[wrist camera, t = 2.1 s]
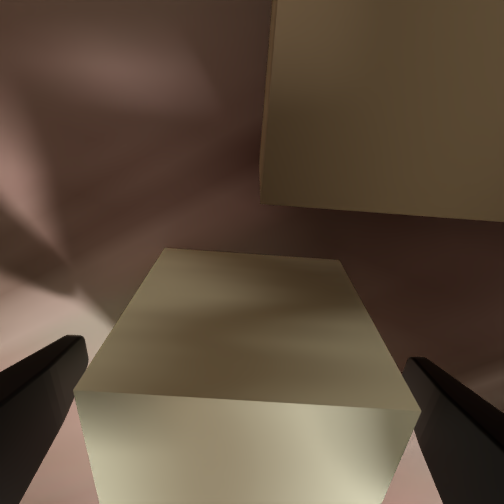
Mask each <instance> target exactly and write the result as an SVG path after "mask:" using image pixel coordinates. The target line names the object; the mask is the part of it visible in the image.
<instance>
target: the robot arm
mask: <svg viewBox="0 0 504 504" xmlns="http://www.w3.org/2000/svg"><path fill="white" fill-rule="evenodd" d="M87 366H88V353H87V348H86V343H85V339H84V337H83V336H81V335H66V336H64V337H62V338H60V339H58V340H57V341H55V342H53V343H51V344H49V345H48V346H46V347H44V348H42V349H41V350H39V351H37V352H35V353H33V354H32V355H30V356H28V357H26V358H24V359H23V360H21V361H19V362H17V363H16V364H14V365H12V366H10V367H8V368H7V369H5V370H3V371H1V372H0V504H19V503H20V501H21V499H22V498H23V496H24V494H25V492H26V490H27V488H28V487H29V485H30V483H31V481H32V479H33V477H34V476H35V474H36V472H37V470H38V468H39V466H40V465H41V463H42V461H43V459H44V457H45V456H46V454H47V452H48V450H49V448H50V446H51V445H52V443H53V441H54V439H55V437H56V435H57V434H58V432H59V430H60V428H61V426H62V424H63V422H64V420H65V418H66V416H67V413H68V411H69V409H70V406H71V404H72V402H73V399H74V392H73V389H74V388H75V386H76V385H77V383H78V382H79V380H80V379H81V377H82V375H83V374H84V372H85V371H86V369H87ZM402 376H403V378H404V380H405V382H406V384H407V385H408V387H409V389H410V391H411V393H412V395H413V396H414V398H415V400H416V402H417V404H418V406H419V407H420V409H421V414H420V416H419V418H418V420H417V423H416V425H415V427H414V431H415V434H416V437H417V440H418V443H419V446H420V448H421V451H422V453H423V456H424V458H425V461H426V463H427V466H428V468H429V471H430V473H431V475H432V478H433V480H434V483H435V485H436V488H437V490H438V492H439V495H440V497H441V500H442V502H443V504H504V413H502V412H501V411H500V410H498V409H497V408H495V407H494V406H493V405H491V404H490V403H488V402H487V401H486V400H484V399H483V398H481V397H480V396H479V395H477V394H476V393H474V392H473V391H472V390H470V389H469V388H467V387H466V386H465V385H463V384H462V383H460V382H459V381H458V380H456V379H455V378H453V377H452V376H451V375H449V374H448V373H446V372H445V371H444V370H442V369H441V368H439V367H438V366H437V365H435V364H434V363H432V362H431V361H430V360H428V359H427V358H424V357H409V358H408V360H407V362H406V365H405V368H404V371H403V373H402Z"/></svg>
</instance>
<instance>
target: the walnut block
mask: <svg viewBox="0 0 504 504" xmlns="http://www.w3.org/2000/svg"><path fill="white" fill-rule="evenodd" d="M259 179H260V204H267V205H280V206H294V207H307V208H321V209H334V210H348V211H361V212H375V213H388V214H402V215H415V216H429V217H442V218H456V219H469V220H483V221H496V222H504V0H272V6H271V19H270V31H269V44H268V56H267V69H266V82H265V94H264V107H263V119H262V132H261V145H260V157H259Z"/></svg>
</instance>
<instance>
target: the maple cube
mask: <svg viewBox="0 0 504 504" xmlns="http://www.w3.org/2000/svg"><path fill="white" fill-rule="evenodd" d="M73 392H74V397H75V401H76V405H77V409H78V414H79V418H80V422H81V427H82V431H83V435H84V439H85V444H86V448H87V452H88V456H89V461H90V465H91V469H92V474H93V478H94V482H95V486H96V491H97V495H98V499H99V504H381V503H382V501H383V499H384V496H385V494H386V492H387V489H388V487H389V485H390V483H391V480H392V478H393V476H394V473H395V471H396V469H397V466H398V464H399V462H400V460H401V457H402V455H403V453H404V450H405V448H406V446H407V443H408V441H409V439H410V437H411V434H412V432H413V430H414V427H415V425H416V423H417V420H418V418H419V416H420V414H421V409H420V407H419V406H418V404H417V402H416V400H415V398H414V396H413V395H412V393H411V391H410V389H409V387H408V385H407V384H406V382H405V380H404V378H403V376H402V374H401V373H400V371H399V369H398V367H397V365H396V363H395V362H394V360H393V358H392V356H391V354H390V352H389V351H388V349H387V347H386V345H385V343H384V341H383V340H382V338H381V336H380V334H379V332H378V330H377V328H376V327H375V325H374V323H373V321H372V319H371V317H370V316H369V314H368V312H367V310H366V308H365V306H364V305H363V303H362V301H361V299H360V297H359V295H358V294H357V292H356V290H355V288H354V286H353V284H352V283H351V281H350V279H349V277H348V275H347V273H346V272H345V270H344V268H343V266H342V264H341V262H340V261H339V260H332V259H317V258H303V257H289V256H275V255H261V254H246V253H232V252H218V251H204V250H190V249H176V248H164V250H163V251H162V253H161V254H160V256H159V257H158V259H157V261H156V262H155V264H154V265H153V267H152V268H151V270H150V271H149V273H148V274H147V276H146V278H145V279H144V281H143V282H142V284H141V285H140V287H139V288H138V290H137V292H136V293H135V295H134V296H133V298H132V299H131V301H130V302H129V304H128V306H127V307H126V309H125V310H124V312H123V313H122V315H121V316H120V318H119V320H118V321H117V323H116V324H115V326H114V327H113V329H112V330H111V332H110V333H109V335H108V337H107V338H106V340H105V341H104V343H103V344H102V346H101V347H100V349H99V351H98V352H97V354H96V355H95V357H94V358H93V360H92V361H91V363H90V365H89V366H88V368H87V369H86V371H85V372H84V374H83V375H82V377H81V379H80V380H79V382H78V383H77V385H76V386H75V388H74V389H73Z"/></svg>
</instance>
